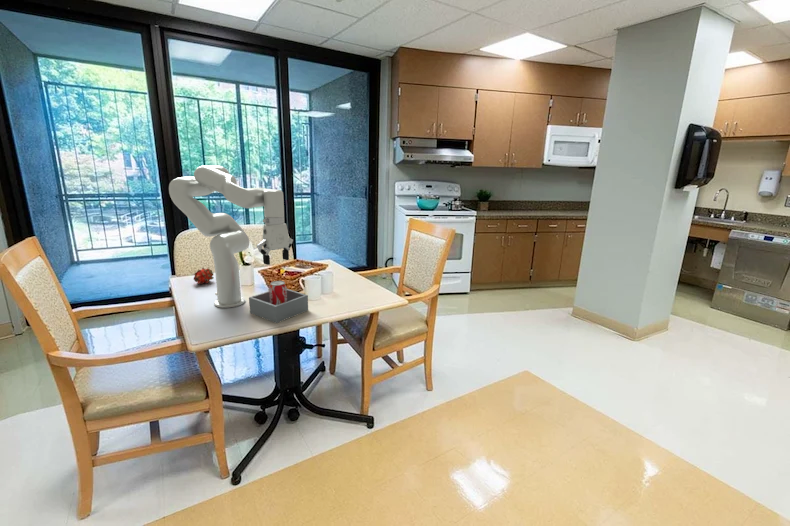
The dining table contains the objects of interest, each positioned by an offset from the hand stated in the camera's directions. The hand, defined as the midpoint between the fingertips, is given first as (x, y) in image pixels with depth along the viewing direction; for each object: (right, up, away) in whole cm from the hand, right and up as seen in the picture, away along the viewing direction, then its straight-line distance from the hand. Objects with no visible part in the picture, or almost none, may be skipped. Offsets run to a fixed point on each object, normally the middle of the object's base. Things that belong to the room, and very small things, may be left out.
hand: (276, 261), depth 151 cm
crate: (-1, -21, +6) cm, 22 cm away
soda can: (-1, -21, +5) cm, 21 cm away
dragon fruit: (-50, -11, +38) cm, 64 cm away
